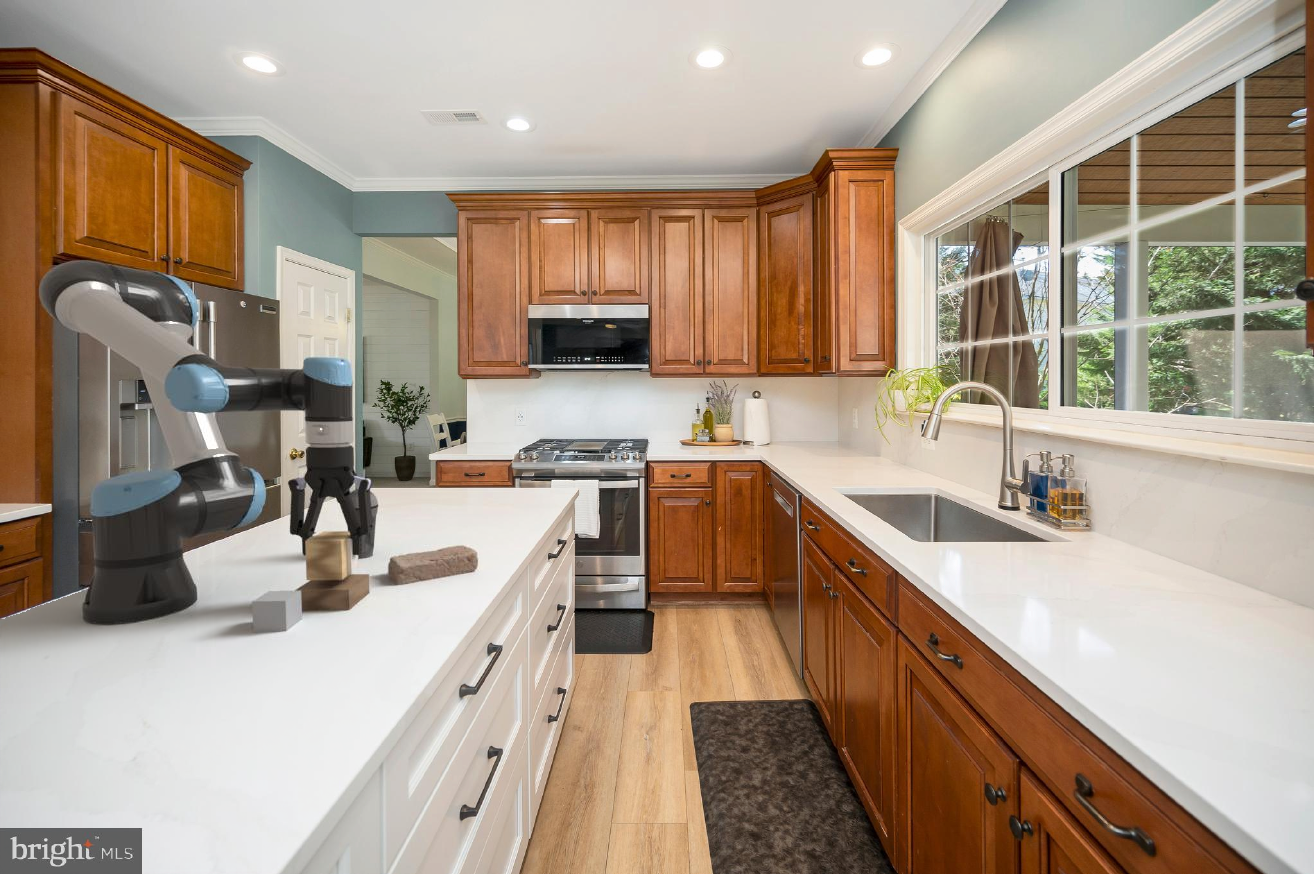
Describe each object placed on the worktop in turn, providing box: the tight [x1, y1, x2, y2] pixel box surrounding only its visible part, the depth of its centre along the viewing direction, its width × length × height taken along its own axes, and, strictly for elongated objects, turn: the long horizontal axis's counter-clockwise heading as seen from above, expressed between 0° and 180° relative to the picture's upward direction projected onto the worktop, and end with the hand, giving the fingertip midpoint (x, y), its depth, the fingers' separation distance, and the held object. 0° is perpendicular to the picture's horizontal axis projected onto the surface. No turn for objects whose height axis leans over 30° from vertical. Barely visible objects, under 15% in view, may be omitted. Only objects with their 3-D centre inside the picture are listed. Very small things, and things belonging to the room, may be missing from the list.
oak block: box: [305, 530, 360, 581], centre depth 109 cm, size 6×7×7 cm
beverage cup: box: [346, 468, 379, 559], centre depth 139 cm, size 7×7×20 cm
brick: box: [387, 544, 479, 586], centre depth 127 cm, size 16×8×5 cm, turn 129°
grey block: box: [251, 590, 303, 633], centre depth 98 cm, size 5×5×5 cm
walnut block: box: [294, 573, 370, 612], centre depth 110 cm, size 9×9×4 cm
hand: (333, 572), depth 109 cm, fingers closed on oak block, 6 cm apart
